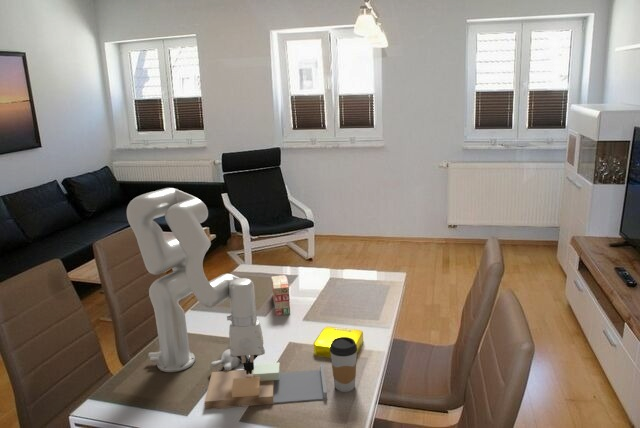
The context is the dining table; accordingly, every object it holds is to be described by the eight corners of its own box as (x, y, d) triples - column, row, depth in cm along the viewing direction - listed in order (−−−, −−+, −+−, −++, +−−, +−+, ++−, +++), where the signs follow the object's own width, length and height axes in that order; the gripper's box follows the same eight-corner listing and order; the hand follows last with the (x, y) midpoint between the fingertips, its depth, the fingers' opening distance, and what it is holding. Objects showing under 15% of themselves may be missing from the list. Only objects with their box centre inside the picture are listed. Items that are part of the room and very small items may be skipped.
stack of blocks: (272, 295, 233) (270, 269, 230) (286, 294, 233) (284, 268, 230) (275, 316, 212) (273, 288, 209) (290, 314, 213) (288, 286, 210)
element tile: (364, 340, 189) (364, 328, 188) (354, 361, 176) (353, 348, 174) (325, 336, 194) (324, 324, 193) (312, 356, 180) (311, 343, 179)
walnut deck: (205, 409, 153) (204, 401, 152) (212, 379, 168) (211, 372, 168) (273, 403, 154) (272, 396, 153) (274, 374, 169) (273, 367, 169)
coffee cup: (356, 378, 165) (355, 335, 161) (359, 393, 157) (358, 348, 153) (330, 379, 165) (328, 336, 161) (332, 395, 157) (330, 350, 153)
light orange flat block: (232, 397, 154) (231, 390, 153) (234, 386, 159) (233, 378, 159) (259, 395, 154) (258, 387, 153) (260, 383, 160) (259, 376, 159)
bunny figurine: (255, 346, 180) (230, 362, 167) (255, 360, 181) (231, 377, 168) (232, 341, 184) (206, 357, 171) (233, 355, 185) (207, 372, 172)
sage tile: (253, 381, 161) (252, 374, 161) (255, 371, 167) (254, 364, 167) (279, 379, 162) (278, 372, 161) (280, 369, 167) (279, 362, 167)
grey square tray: (273, 403, 154) (272, 396, 153) (274, 374, 169) (273, 367, 169) (327, 399, 155) (326, 392, 154) (323, 370, 170) (322, 364, 170)
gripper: (218, 325, 155) (224, 380, 160) (268, 322, 156) (272, 376, 161) (221, 314, 163) (227, 367, 167) (269, 311, 163) (273, 363, 168)
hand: (249, 371), depth 164 cm, fingers closed
